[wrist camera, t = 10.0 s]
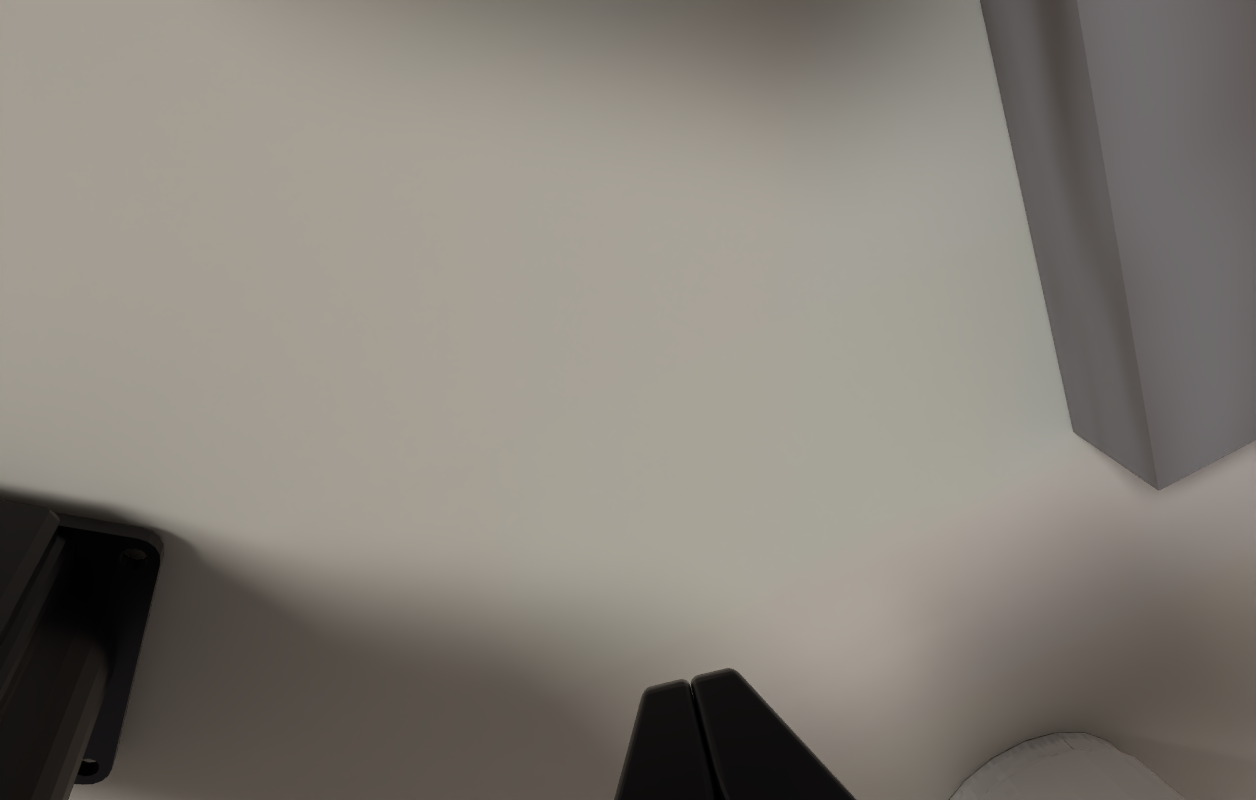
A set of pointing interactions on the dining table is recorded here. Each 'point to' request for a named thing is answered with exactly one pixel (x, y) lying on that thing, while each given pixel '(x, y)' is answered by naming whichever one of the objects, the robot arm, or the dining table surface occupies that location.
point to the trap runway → (1141, 214)
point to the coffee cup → (1065, 773)
